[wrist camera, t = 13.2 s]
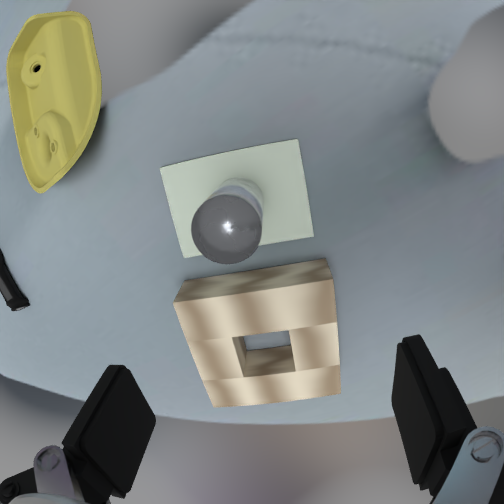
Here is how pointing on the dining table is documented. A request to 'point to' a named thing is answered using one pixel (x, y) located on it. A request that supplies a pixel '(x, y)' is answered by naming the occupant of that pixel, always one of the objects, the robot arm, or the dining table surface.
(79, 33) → the plastic component
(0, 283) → the electric trimmer
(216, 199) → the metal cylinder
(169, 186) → the mat
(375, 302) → the dining table surface
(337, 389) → the bore block
